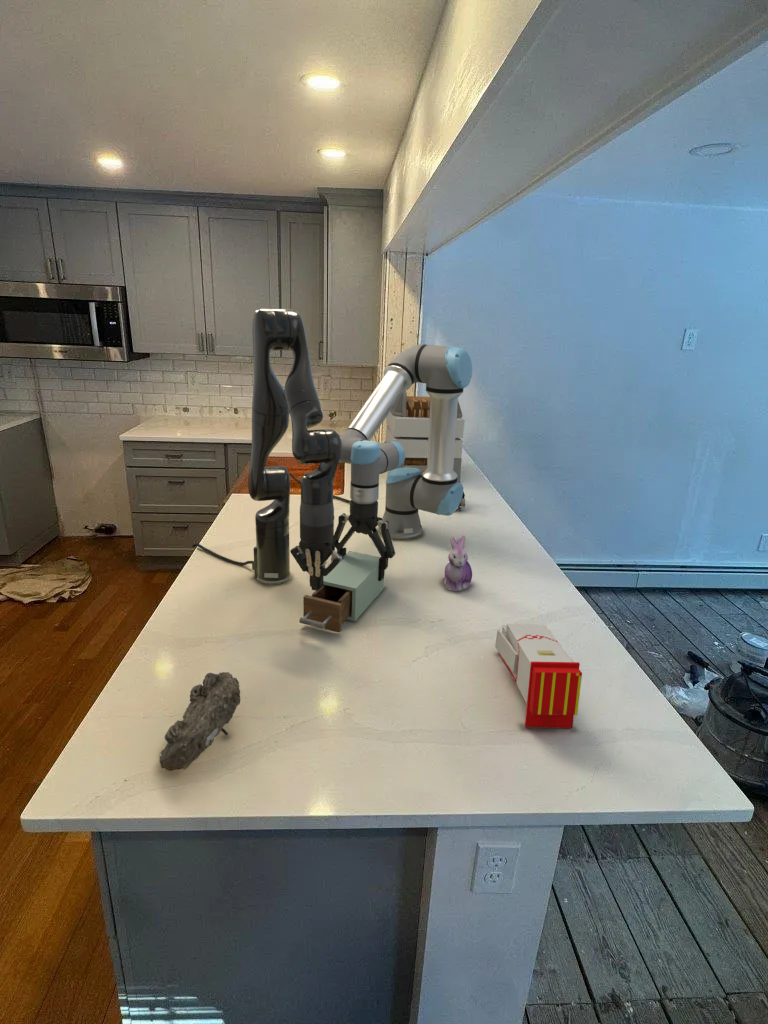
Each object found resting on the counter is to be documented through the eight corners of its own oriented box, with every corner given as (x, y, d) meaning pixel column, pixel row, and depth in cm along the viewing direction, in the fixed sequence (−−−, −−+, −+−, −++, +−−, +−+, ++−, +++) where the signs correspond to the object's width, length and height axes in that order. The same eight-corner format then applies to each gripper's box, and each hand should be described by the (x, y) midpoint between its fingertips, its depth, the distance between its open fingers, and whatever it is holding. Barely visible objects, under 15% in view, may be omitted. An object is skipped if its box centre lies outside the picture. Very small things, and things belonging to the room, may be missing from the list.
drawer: (329, 643, 131) (330, 615, 129) (292, 633, 135) (292, 606, 132) (369, 598, 153) (370, 573, 150) (336, 591, 156) (337, 566, 153)
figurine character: (465, 515, 224) (460, 499, 237) (467, 498, 221) (462, 483, 234) (448, 515, 224) (444, 499, 237) (450, 498, 220) (445, 482, 234)
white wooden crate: (382, 463, 289) (386, 382, 275) (445, 464, 293) (451, 384, 279) (390, 482, 257) (394, 392, 243) (460, 483, 261) (468, 394, 247)
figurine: (453, 595, 158) (458, 546, 153) (434, 580, 167) (437, 532, 161) (481, 589, 162) (486, 541, 157) (460, 574, 171) (465, 528, 166)
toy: (542, 608, 134) (591, 669, 104) (537, 660, 136) (583, 734, 107) (491, 607, 133) (526, 668, 104) (487, 660, 136) (520, 733, 107)
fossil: (187, 673, 113) (240, 640, 108) (220, 704, 116) (274, 673, 111) (134, 764, 94) (196, 730, 89) (175, 799, 97) (237, 767, 92)
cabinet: (354, 621, 143) (355, 588, 140) (316, 612, 147) (316, 579, 144) (383, 588, 161) (385, 558, 158) (348, 580, 164) (349, 550, 161)
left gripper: (282, 519, 124) (283, 590, 130) (336, 529, 120) (335, 602, 126) (298, 509, 131) (299, 576, 137) (351, 518, 127) (349, 588, 133)
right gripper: (318, 497, 151) (317, 571, 158) (400, 511, 143) (396, 588, 151) (330, 489, 158) (329, 561, 165) (410, 502, 150) (405, 577, 157)
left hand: (316, 588), depth 131 cm, fingers closed
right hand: (361, 574), depth 158 cm, fingers closed on cabinet, 11 cm apart
